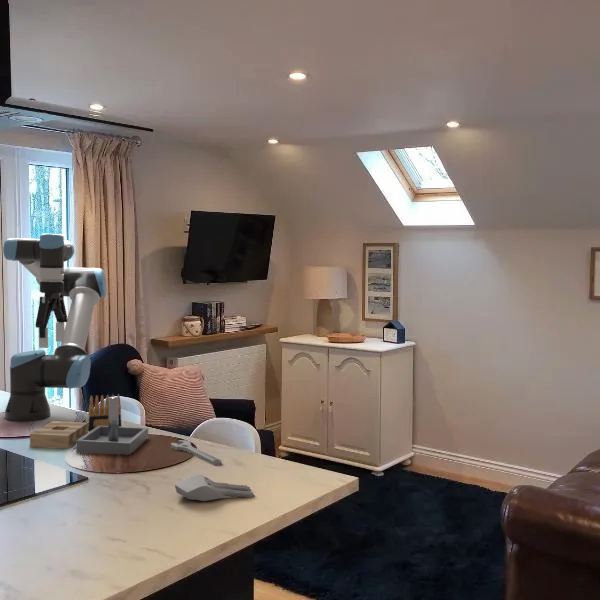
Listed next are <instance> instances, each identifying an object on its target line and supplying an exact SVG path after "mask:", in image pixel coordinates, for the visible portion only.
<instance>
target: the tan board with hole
mask: <svg viewBox="0 0 600 600" xmlns="http://www.w3.org/2000/svg"><path fill="white" fill-rule="evenodd" d="M88 432H89V431H88V422H82V421H81V422H80V421H79V422H78V421H60V420H59V421H57V420H52V421H50V422H48V423H47V424H45V425H43V426H41V427H39V428H38V429H36V430H34V431H33V432H31V433H30V434H29V447H30V448H31V447H32V448H50V449H66V450H67V449H70V448H71V447H73V446H74V445H76V441H77V440H78V439H80V438H81V437H82V436H84V435H85V434H87V433H88Z"/></svg>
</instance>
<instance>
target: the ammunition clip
mask: <svg viewBox="0 0 600 600" xmlns="http://www.w3.org/2000/svg"><path fill="white" fill-rule="evenodd" d="M109 397H110V396H109V394H107V395H106V396H105V399H104V395H103V394H102V395H101V396H100V399H99V395H96V396H95V399H94V398H93V395H90V397H89V405H88V422H87V423H88V432H90V431H91V430H93V429H94V428H96V427H97V426H108V418H109ZM111 397H115V395H114V394H112V396H111ZM116 397H119V412H118V426H119V427H122V413H121V412H122V411H121V410H122V405H121V397H120V394H119V393H118V394H117V396H116ZM99 400H100V403H99Z"/></svg>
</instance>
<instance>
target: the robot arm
mask: <svg viewBox="0 0 600 600" xmlns="http://www.w3.org/2000/svg"><path fill="white" fill-rule="evenodd" d="M2 249H3V256H4V258H5V260H7V261H14V262H15V261H18V262H19V263H20V264H21V265H22V266H23V267H24V268H25V269H26V270H28V271H27V272H29V273H30V274H32V275H33V276H34V277H35V279H36V283H37V284H38V285H39V292H40V293H41V294H42V293H43V294H44V296H40V297H39V305H38V309H37V314H36V320H35V328H38V347H39V349H38V350H37V349H36V350H30V351H24V352H23V351H22V352H18V353H14V354H13V355H12V356H11V357H10V363H9V365H10V366H9V375H10V376H9V379H10V380H9V381H10V382H9V385H10V386H9V387H10V389H9V390H10V396H9V398H8V402H7V404H6V406H5V407H6V408H5V410H4V418H5V419H7V420H9V421H16V422H29V421H37V420H38V421H40V420H43V419H47V418H48V417H50V416H51V407H50V404H49V401H48V399H47V396H46V389H48V388H51V389H55V388H56V389H57V388H58V389H69V390H71V389H80V388H82V387H84V386H85V385H86V383H87V382H88V380H89V378H90V374H91V367H92V362H91V358H90V356H88V353H87V352H86V350H85V349H86V344H87V340H88V336H89V331H90V327H91V322H92V317H93V313H94V309H95V306H96V305H97V304H99V302H100V299H103V298H105V297H106V296H107V281H106V273H105V271H104V269H103V268H99V267H72V266H71V267H70V266H69V267H68V266H65V262H66V261H69V260H71V259H72V258H73V257H74V255H75V247H74V245H73V243H71V242H70V241H69V240H67V239H65V237H64V235H63V234H62V233H41V234H40V235H39V238H18V237H11V238H7V239H5V240H4V243H3V248H2ZM65 297H69V299H70V300H71V302H70V307H69V311H68V313H67V309H66V304H65V299H64V298H65ZM52 312H53V314H54V317H55V318H56V319H55V320H56V322H55V342H56V343H57V342H59V343H60V345H59V346H58V347H56V348H55V350H54V353H53V354H47V352H46V351H45V350H40V349H48V348H49V327H47V326H48V323H49V321H50V318H51V317H50V316H51V313H52Z"/></svg>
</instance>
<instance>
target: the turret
mask: <svg viewBox="0 0 600 600" xmlns="http://www.w3.org/2000/svg"><path fill="white" fill-rule="evenodd" d="M174 487H175V490H176V491H175V492H176V493H177V494H178V495H179V496H183V497H185V498H186V499H187V500H191V501H194V500H196V501H202V502H206V501H214V500H220V499H222V500H223V499H226V498H227V497H228V498H229V497H230V498H233V497H234V498H235V497H236V498H254V497H256V496H255V494H254V492H252V488H251V487H250V486H248V485H245V484H244V485H242V484H233V483H226V482H216V481H213V480H212V479H209V478H208V477H207V476H204V475H203V474H199V473H197V474H196V473H195V474H192V475H190V476H189V477H185V478H184V479H182V480H180V481H179V482H177V483H176V484H174Z"/></svg>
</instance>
